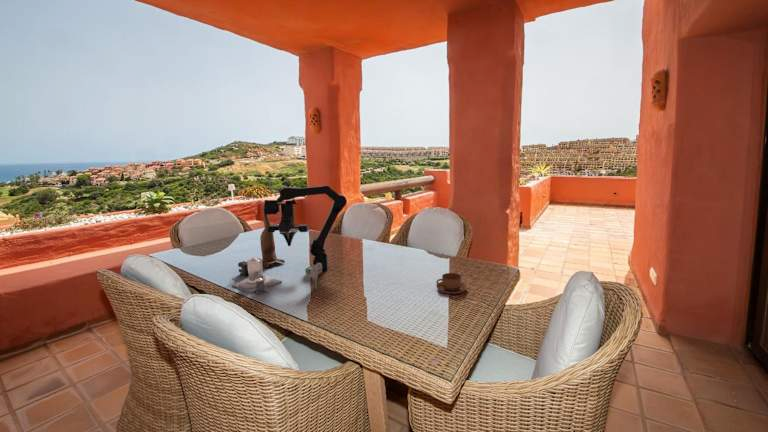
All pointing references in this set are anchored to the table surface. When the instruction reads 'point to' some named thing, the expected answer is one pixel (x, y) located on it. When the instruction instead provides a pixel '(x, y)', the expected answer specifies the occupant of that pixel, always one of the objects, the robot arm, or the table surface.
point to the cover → (254, 270)
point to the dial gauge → (260, 286)
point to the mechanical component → (314, 273)
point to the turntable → (251, 287)
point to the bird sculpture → (268, 244)
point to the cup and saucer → (451, 284)
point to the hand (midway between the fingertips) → (289, 246)
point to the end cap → (245, 268)
